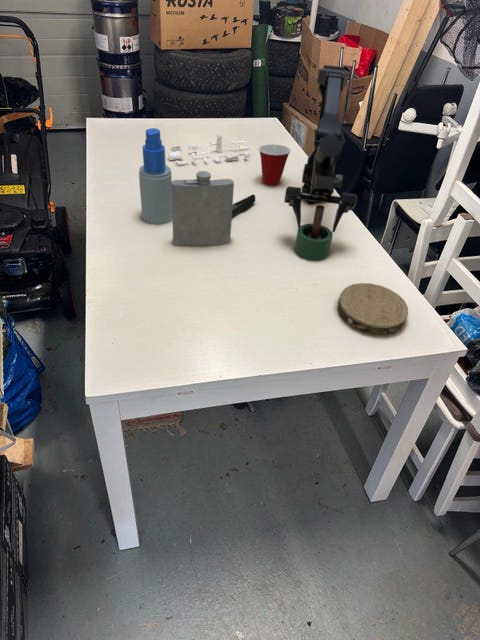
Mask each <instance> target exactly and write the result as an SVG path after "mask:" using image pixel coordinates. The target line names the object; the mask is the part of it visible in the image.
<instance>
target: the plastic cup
mask: <svg viewBox="0 0 480 640" xmlns="http://www.w3.org/2000/svg"><path fill="white" fill-rule="evenodd" d="M291 150H292V149H291V148H290V147H289V146H286V145H283V144H276V143H270V144H269V143H268V144H261V145H259V146H258V151H259V154H260V156H259V157H260V164H261V176H262V183H263V184H264V185H266V186H270V187H275V186H279V184H280V183H281V179H282V176H283V174H284V171H285V166H286V163H287V160H288V157H289V155H290V153H291Z"/></svg>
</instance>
